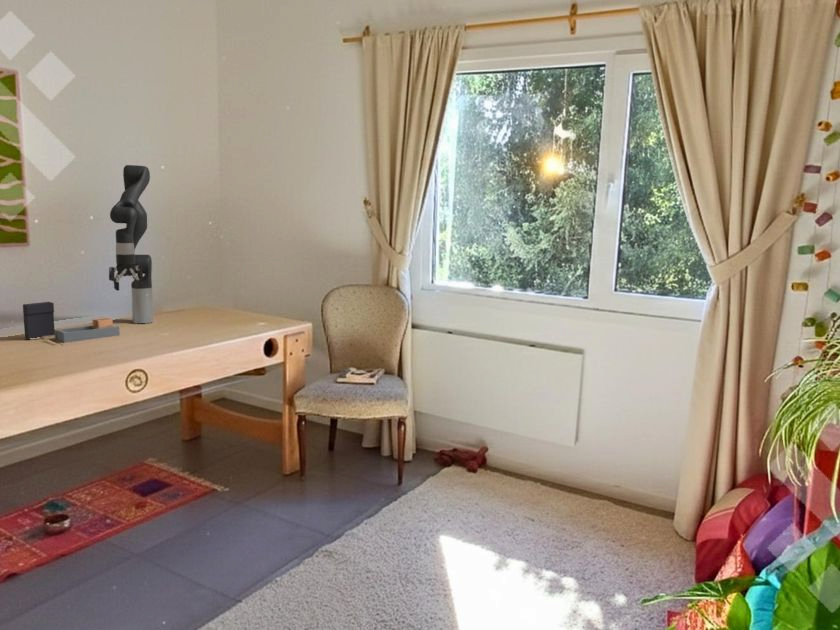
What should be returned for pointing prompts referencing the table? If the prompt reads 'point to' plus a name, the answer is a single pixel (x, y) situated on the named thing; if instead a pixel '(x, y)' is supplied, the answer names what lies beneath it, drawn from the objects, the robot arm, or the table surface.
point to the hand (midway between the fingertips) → (126, 289)
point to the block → (102, 323)
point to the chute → (85, 333)
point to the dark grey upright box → (38, 319)
